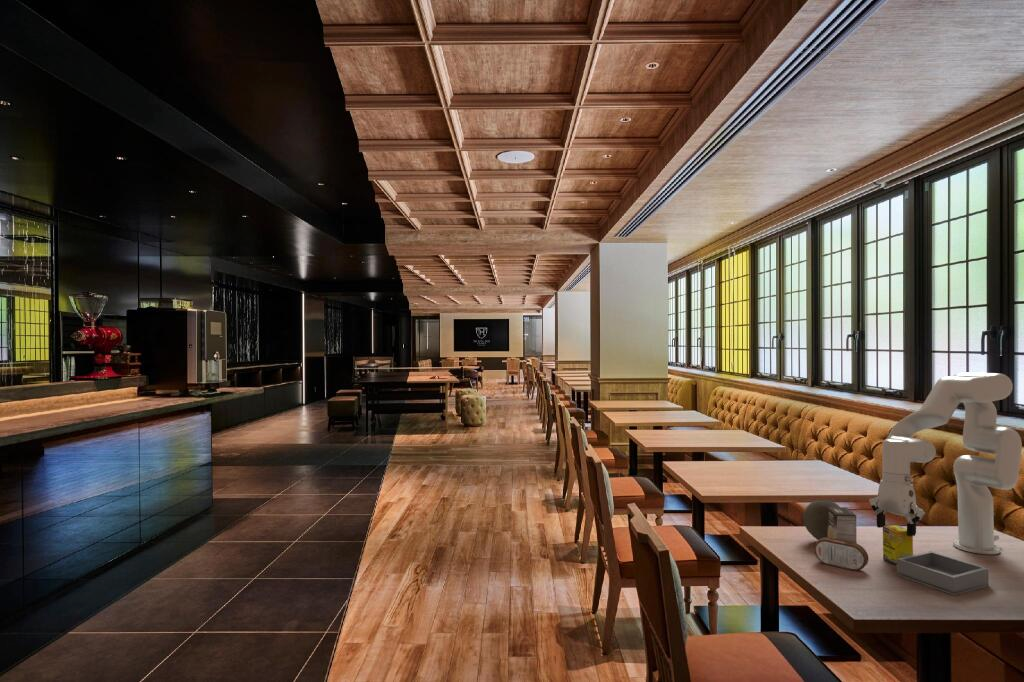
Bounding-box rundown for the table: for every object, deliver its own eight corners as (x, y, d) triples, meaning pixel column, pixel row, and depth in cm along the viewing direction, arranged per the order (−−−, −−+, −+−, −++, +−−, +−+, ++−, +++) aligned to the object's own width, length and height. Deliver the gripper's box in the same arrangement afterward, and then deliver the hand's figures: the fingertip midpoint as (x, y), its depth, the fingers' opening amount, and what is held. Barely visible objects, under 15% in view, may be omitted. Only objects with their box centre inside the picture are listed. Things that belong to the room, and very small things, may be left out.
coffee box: (826, 554, 197) (826, 506, 197) (847, 555, 196) (847, 507, 196) (836, 564, 188) (835, 514, 188) (858, 565, 187) (857, 514, 187)
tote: (930, 567, 185) (930, 551, 185) (988, 585, 170) (988, 568, 170) (897, 575, 178) (896, 558, 179) (954, 595, 164) (954, 577, 164)
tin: (868, 571, 182) (868, 544, 182) (866, 574, 180) (866, 546, 180) (816, 560, 192) (815, 534, 192) (813, 562, 190) (812, 536, 190)
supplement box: (882, 559, 192) (881, 525, 192) (899, 558, 192) (899, 525, 193) (895, 566, 186) (895, 531, 186) (913, 565, 187) (913, 530, 187)
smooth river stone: (822, 535, 217) (821, 494, 217) (858, 546, 204) (857, 503, 204) (795, 540, 211) (794, 498, 211) (830, 553, 198) (829, 508, 198)
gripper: (931, 482, 183) (931, 538, 183) (877, 471, 199) (877, 522, 199) (916, 484, 180) (915, 540, 180) (862, 473, 196) (862, 525, 196)
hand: (895, 531), depth 189 cm, fingers open, 9 cm apart
